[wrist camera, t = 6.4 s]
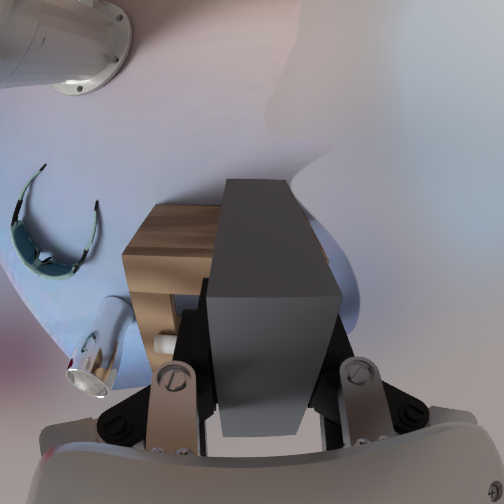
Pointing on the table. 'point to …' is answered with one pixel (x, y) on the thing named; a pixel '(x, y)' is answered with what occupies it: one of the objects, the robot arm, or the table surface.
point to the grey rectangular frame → (267, 309)
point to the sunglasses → (31, 252)
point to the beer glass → (100, 349)
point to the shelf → (169, 270)
